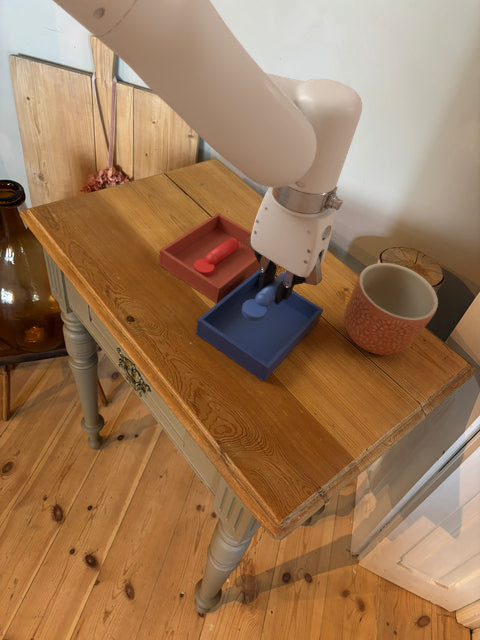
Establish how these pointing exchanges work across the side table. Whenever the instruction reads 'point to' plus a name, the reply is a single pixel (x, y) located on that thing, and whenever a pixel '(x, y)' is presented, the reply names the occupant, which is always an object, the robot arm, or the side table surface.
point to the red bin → (202, 242)
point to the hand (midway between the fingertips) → (273, 293)
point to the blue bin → (258, 328)
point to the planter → (388, 308)
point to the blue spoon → (262, 300)
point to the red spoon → (215, 257)
